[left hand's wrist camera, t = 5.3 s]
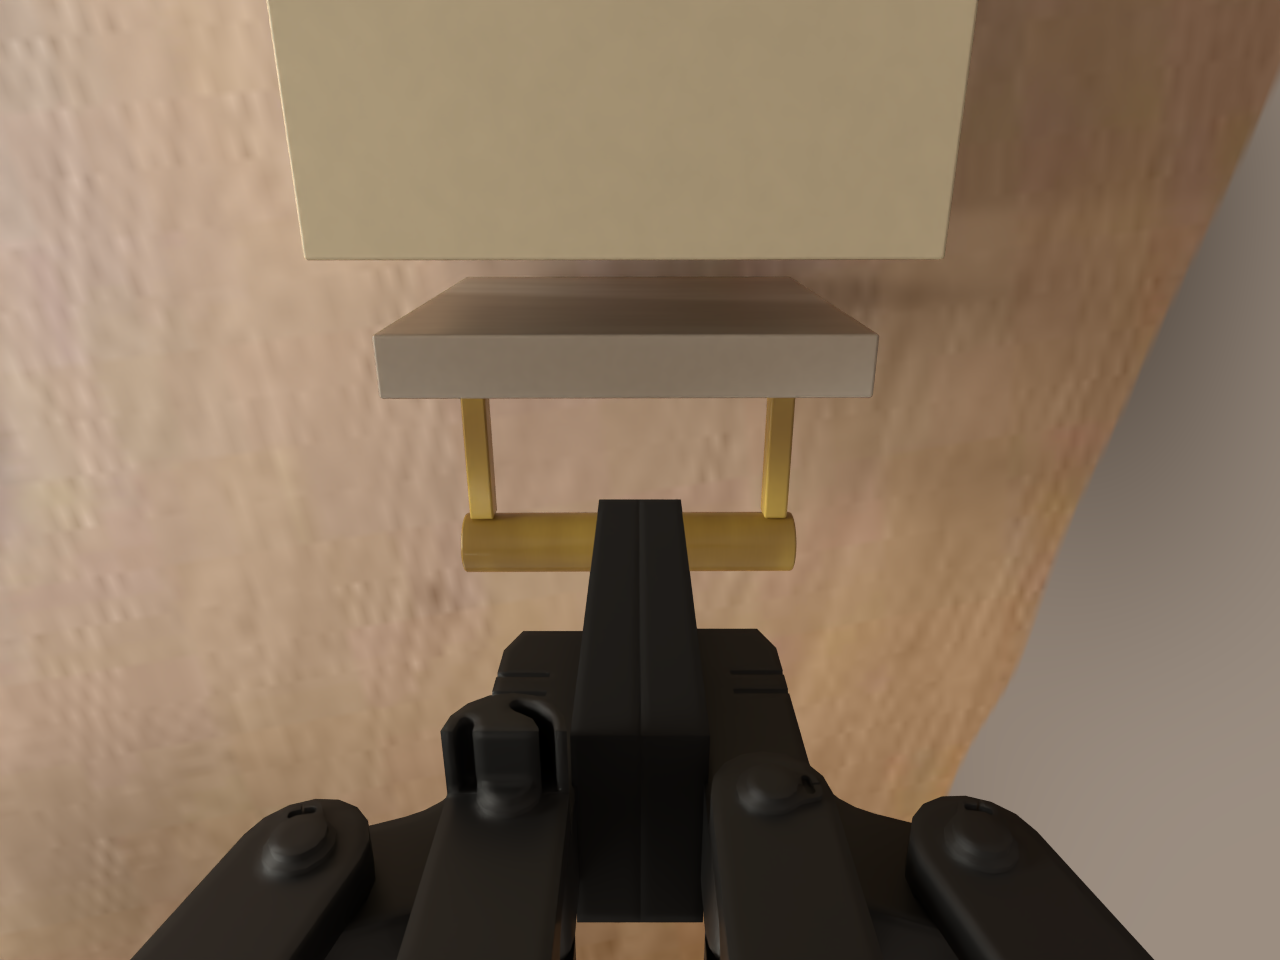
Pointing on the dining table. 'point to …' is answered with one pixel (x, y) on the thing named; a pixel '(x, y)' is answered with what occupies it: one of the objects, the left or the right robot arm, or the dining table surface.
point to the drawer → (625, 388)
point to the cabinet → (623, 127)
